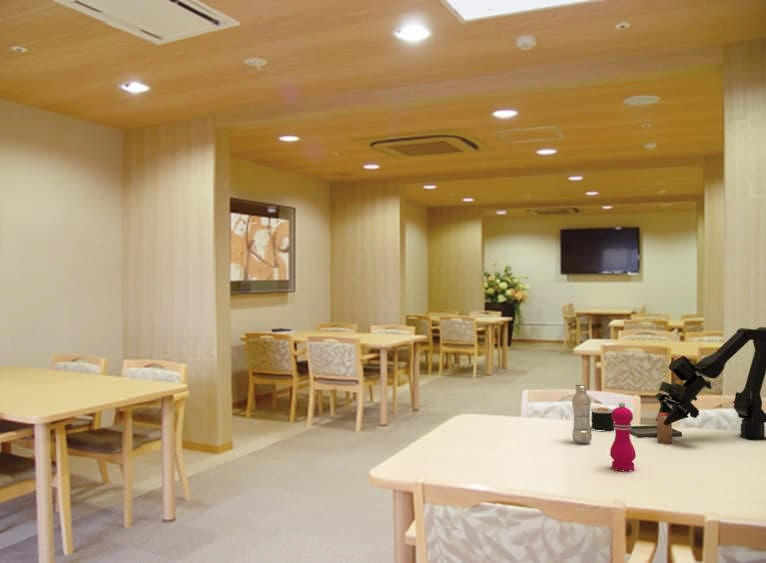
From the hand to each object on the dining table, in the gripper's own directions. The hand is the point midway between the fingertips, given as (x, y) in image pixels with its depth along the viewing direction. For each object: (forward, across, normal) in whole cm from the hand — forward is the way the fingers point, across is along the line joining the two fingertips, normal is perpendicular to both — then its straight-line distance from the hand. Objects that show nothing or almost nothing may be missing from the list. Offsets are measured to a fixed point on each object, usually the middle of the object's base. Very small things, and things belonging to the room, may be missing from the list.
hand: (660, 422), depth 226 cm
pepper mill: (+24, +26, -14) cm, 38 cm away
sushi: (+12, -23, -2) cm, 26 cm away
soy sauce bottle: (+4, 0, +6) cm, 7 cm away
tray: (+2, -13, +8) cm, 15 cm away
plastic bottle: (+24, -5, -14) cm, 28 cm away
